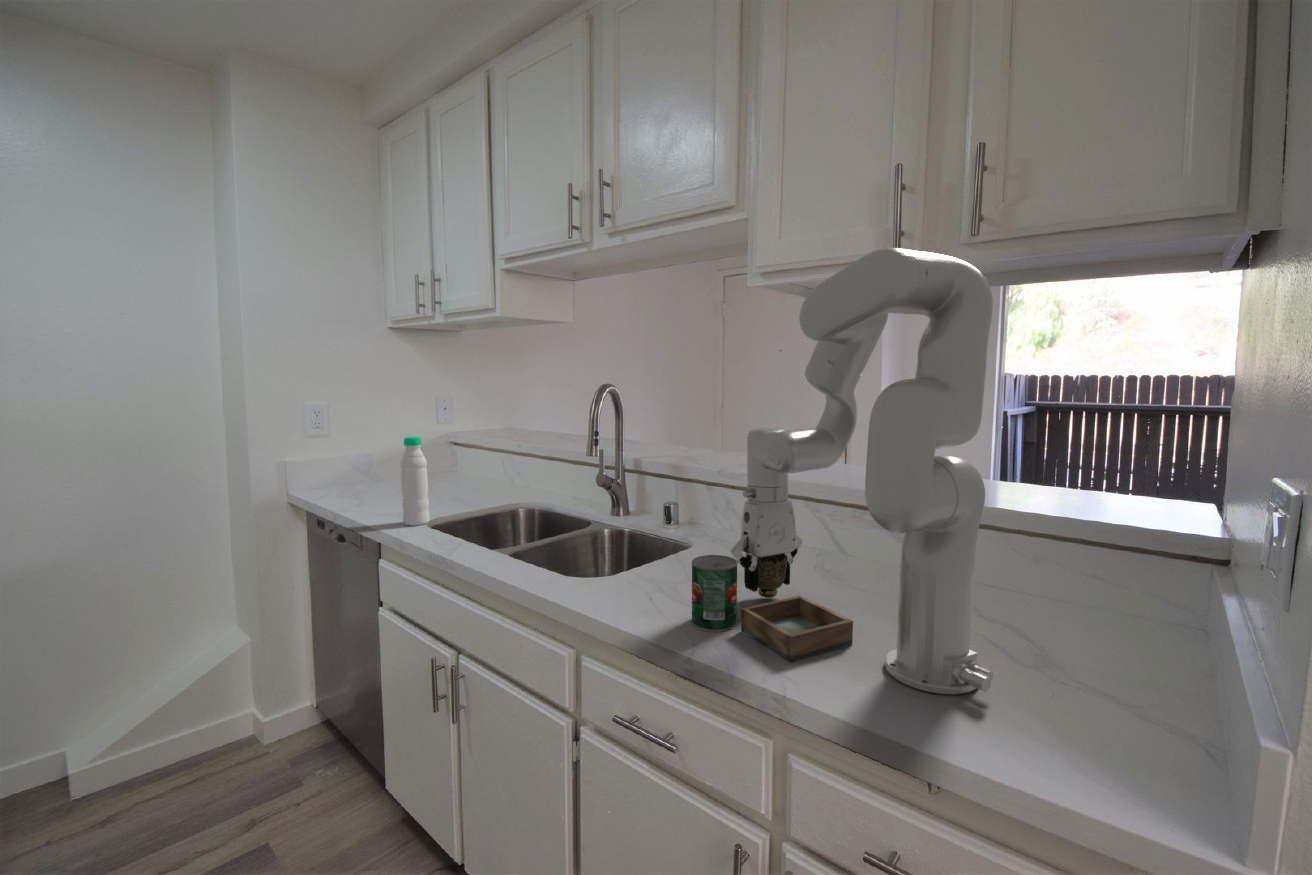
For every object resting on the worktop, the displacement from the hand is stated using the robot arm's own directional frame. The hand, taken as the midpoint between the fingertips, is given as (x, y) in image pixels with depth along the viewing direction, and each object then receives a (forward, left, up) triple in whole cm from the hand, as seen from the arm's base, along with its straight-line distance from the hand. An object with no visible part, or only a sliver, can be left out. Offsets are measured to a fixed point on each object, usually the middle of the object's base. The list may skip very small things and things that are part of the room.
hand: (767, 585), depth 118 cm
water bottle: (+96, +52, -3) cm, 109 cm away
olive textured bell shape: (0, 0, -2) cm, 2 cm away
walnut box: (-16, +7, -3) cm, 17 cm away
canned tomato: (-4, +15, -3) cm, 16 cm away
